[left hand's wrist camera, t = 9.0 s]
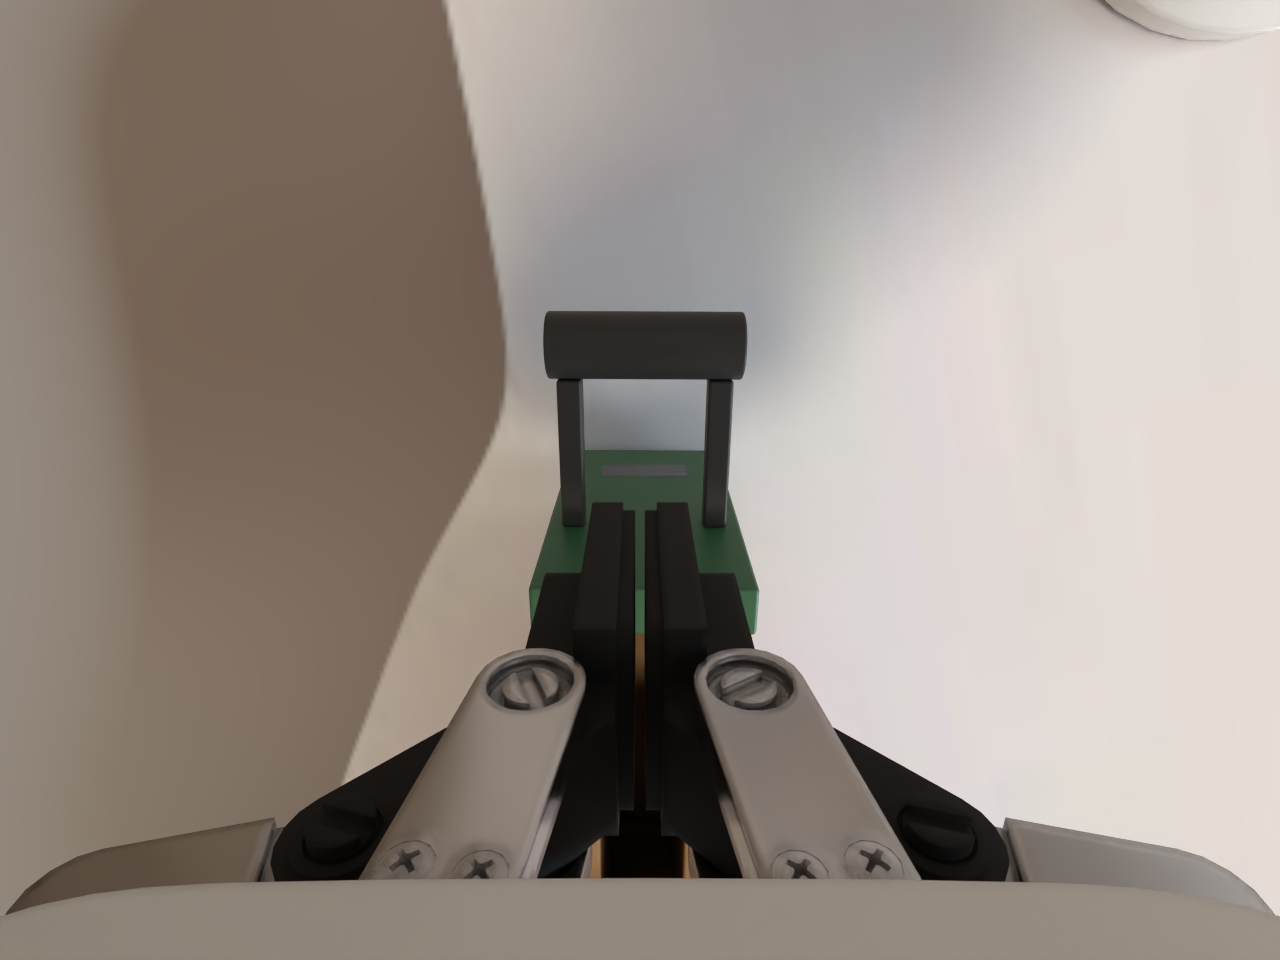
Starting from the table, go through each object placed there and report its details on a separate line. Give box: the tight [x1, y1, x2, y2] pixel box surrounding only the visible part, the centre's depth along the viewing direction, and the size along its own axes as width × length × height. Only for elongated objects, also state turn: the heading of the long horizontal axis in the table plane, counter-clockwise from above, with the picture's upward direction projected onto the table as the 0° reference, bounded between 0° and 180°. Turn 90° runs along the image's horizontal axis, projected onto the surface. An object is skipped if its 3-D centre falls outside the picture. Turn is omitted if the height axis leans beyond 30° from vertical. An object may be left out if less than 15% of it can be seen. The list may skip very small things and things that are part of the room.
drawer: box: [529, 311, 759, 878], centre depth 22 cm, size 22×5×10 cm, turn 0°
